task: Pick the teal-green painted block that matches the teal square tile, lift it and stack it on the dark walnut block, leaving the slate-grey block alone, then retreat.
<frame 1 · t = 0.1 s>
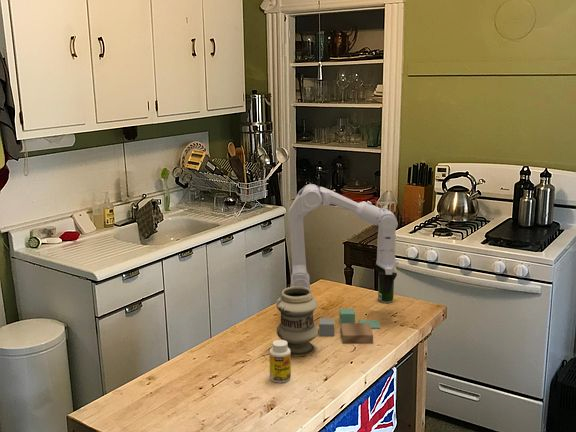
hand: (385, 288, 201), 10 cm above the kitchen island, fingers open, 7 cm apart
teal square tile: (369, 324, 198), on the kitchen island
teal block: (347, 322, 200), on the kitchen island
walnut block: (356, 338, 189), on the kitchen island
supplement bottle: (280, 379, 165), on the kitchen island
apothecary jar: (297, 349, 182), on the kitchen island
beer can: (385, 301, 218), on the kitchen island
slate block: (326, 333, 192), on the kitchen island
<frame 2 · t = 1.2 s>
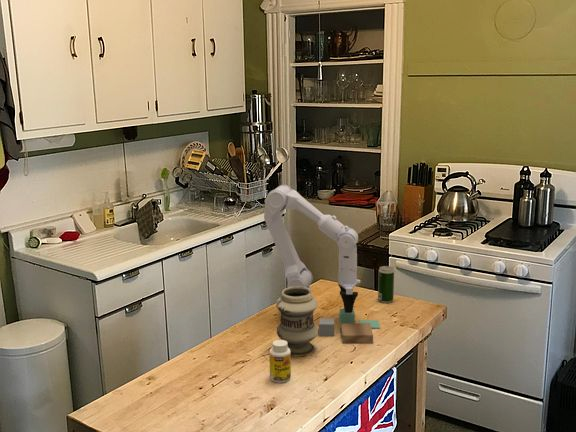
hand: (347, 307, 199), 5 cm above the kitchen island, fingers open, 7 cm apart
nothing on the kitchen island moved.
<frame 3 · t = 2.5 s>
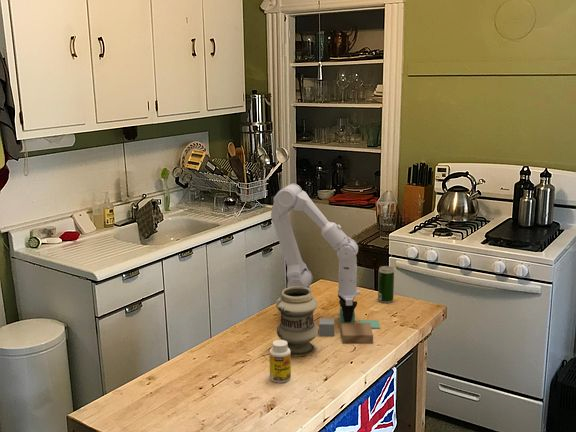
hand: (347, 318, 199), 1 cm above the kitchen island, fingers closed on teal block, 4 cm apart
teal block: (347, 322, 200), on the kitchen island, touching gripper
everything else where it was.
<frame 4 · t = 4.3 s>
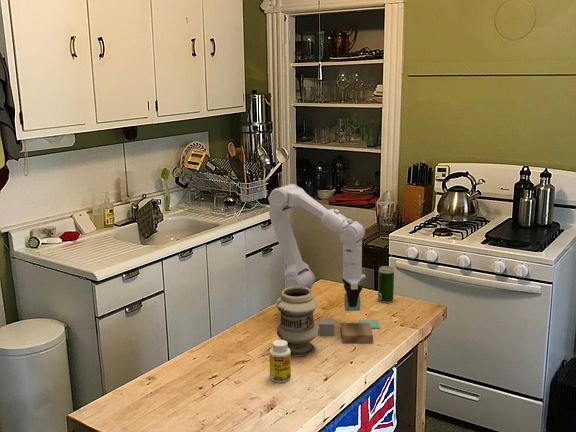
hand: (351, 303, 193), 8 cm above the kitchen island, fingers closed on teal block, 4 cm apart
teal block: (352, 308, 193), point 7 cm above the kitchen island, touching gripper
everything else where it was.
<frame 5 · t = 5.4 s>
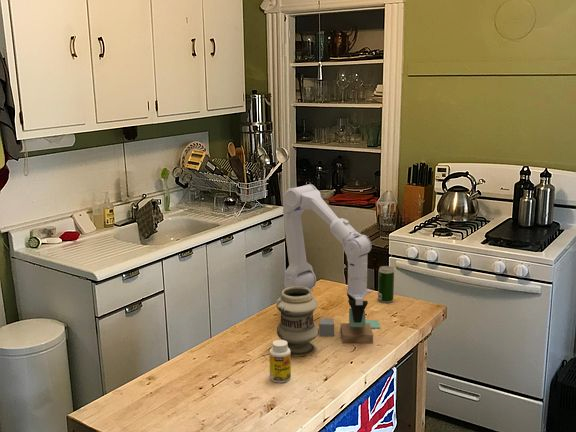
hand: (356, 318, 188), 6 cm above the kitchen island, fingers closed on teal block, 4 cm apart
teal block: (357, 323, 188), point 4 cm above the kitchen island, touching gripper
everything else where it was.
when the fingers open (6 cm above the kitchen island, at t = 6.2 s): teal block drops 2 cm, resting on walnut block.
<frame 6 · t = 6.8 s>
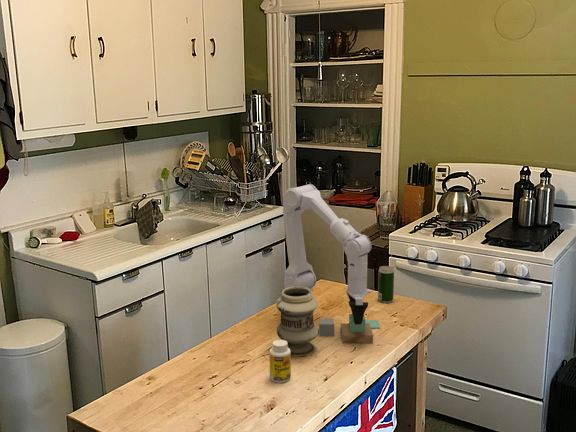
hand: (356, 318, 188), 6 cm above the kitchen island, fingers open, 7 cm apart
teal block: (357, 329, 189), point 2 cm above the kitchen island, touching walnut block
walnut block: (356, 338, 189), on the kitchen island, touching teal block
everything else where it was.
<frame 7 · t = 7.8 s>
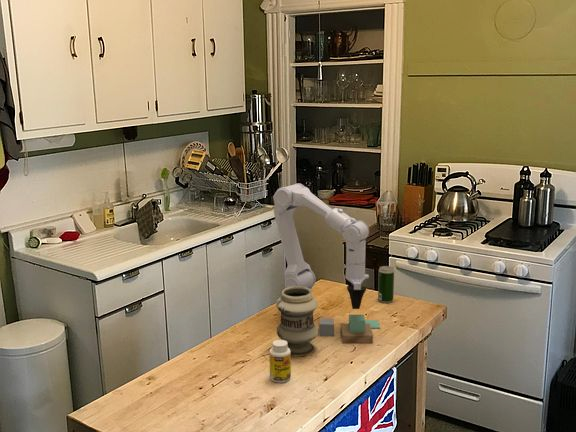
hand: (354, 303, 190), 9 cm above the kitchen island, fingers open, 7 cm apart
teal block: (356, 329, 188), point 2 cm above the kitchen island
walnut block: (356, 338, 189), on the kitchen island
everything else where it was.
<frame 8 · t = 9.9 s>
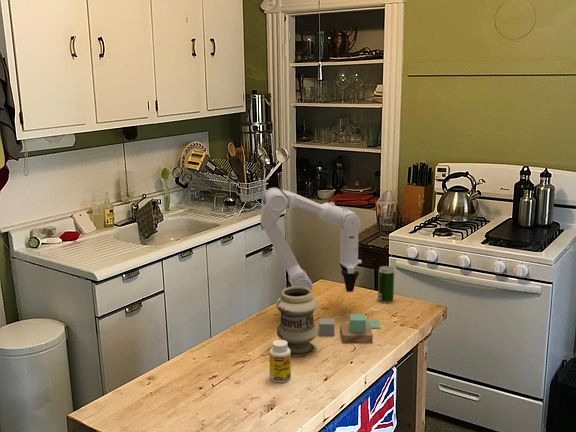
hand: (348, 287, 204), 9 cm above the kitchen island, fingers open, 7 cm apart
teal block: (357, 329, 188), point 2 cm above the kitchen island, touching walnut block
walnut block: (356, 338, 189), on the kitchen island, touching teal block
everything else where it was.
at the end: teal block 0.4 cm off-centre on the walnut block, point 3.0 cm above the walnut block's base; teal block tilted 0°; the gripper is holding nothing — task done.
